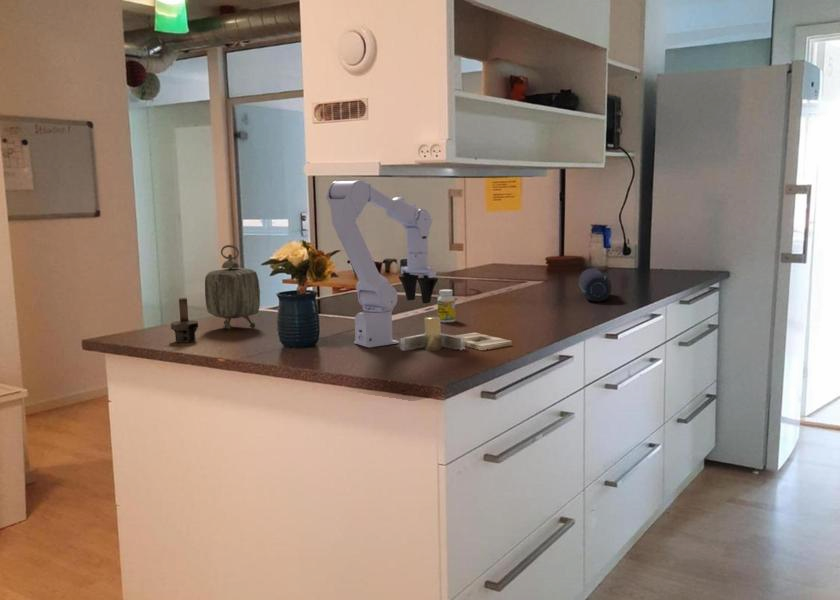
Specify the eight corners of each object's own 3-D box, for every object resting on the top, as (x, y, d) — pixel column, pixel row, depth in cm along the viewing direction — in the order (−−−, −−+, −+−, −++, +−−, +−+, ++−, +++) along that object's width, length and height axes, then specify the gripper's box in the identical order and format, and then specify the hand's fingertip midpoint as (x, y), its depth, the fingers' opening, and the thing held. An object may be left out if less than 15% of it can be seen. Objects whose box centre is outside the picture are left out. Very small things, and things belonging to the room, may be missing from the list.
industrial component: (205, 340, 215) (202, 297, 213) (184, 345, 209) (181, 301, 208) (183, 337, 221) (180, 295, 219) (162, 341, 215) (159, 298, 213)
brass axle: (431, 351, 195) (430, 319, 194) (422, 348, 198) (421, 317, 197) (444, 349, 197) (443, 318, 196) (434, 346, 200) (434, 316, 199)
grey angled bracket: (465, 350, 195) (465, 338, 195) (400, 350, 196) (400, 339, 196) (465, 342, 204) (464, 331, 204) (402, 343, 205) (402, 332, 205)
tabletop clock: (261, 327, 233) (257, 244, 230) (240, 332, 226) (235, 246, 222) (226, 324, 241) (221, 243, 237) (204, 329, 233) (199, 245, 229)
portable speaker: (612, 303, 268) (613, 274, 266) (583, 303, 269) (583, 274, 268) (604, 293, 292) (604, 267, 291) (577, 293, 294) (577, 267, 292)
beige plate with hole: (511, 345, 200) (511, 340, 200) (481, 350, 194) (481, 345, 194) (474, 336, 212) (474, 332, 212) (445, 341, 207) (445, 337, 206)
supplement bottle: (458, 320, 239) (457, 289, 238) (450, 323, 234) (449, 291, 233) (442, 319, 242) (442, 288, 240) (434, 322, 237) (434, 290, 236)
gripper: (444, 253, 210) (445, 302, 212) (414, 250, 222) (415, 297, 224) (423, 254, 206) (424, 305, 208) (394, 251, 218) (395, 299, 220)
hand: (418, 301), depth 215 cm, fingers open, 7 cm apart
